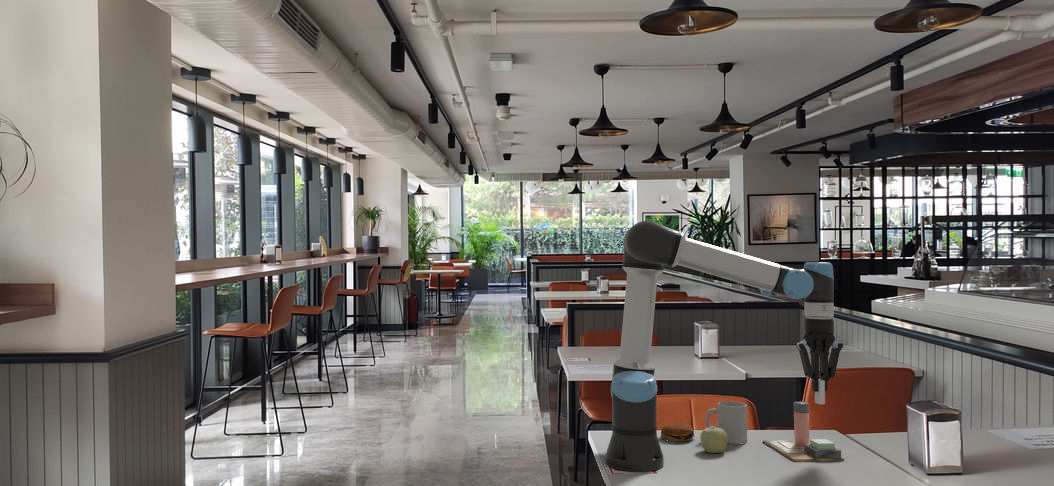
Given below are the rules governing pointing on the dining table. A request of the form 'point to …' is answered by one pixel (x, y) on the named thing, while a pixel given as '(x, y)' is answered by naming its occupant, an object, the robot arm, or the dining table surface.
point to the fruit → (714, 439)
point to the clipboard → (803, 451)
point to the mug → (731, 420)
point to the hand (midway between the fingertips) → (819, 403)
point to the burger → (677, 432)
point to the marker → (801, 423)
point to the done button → (822, 444)
